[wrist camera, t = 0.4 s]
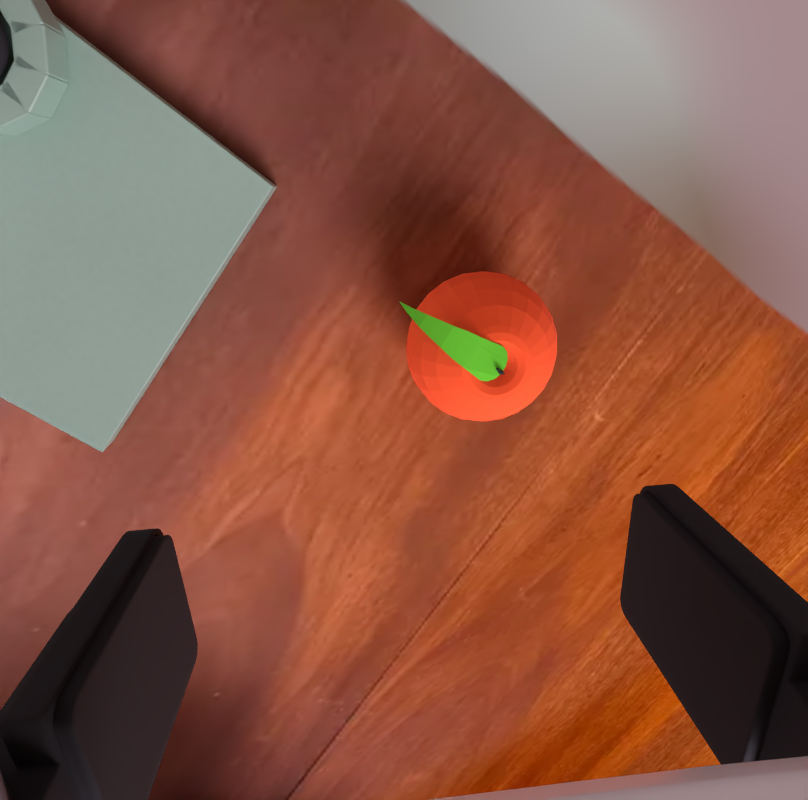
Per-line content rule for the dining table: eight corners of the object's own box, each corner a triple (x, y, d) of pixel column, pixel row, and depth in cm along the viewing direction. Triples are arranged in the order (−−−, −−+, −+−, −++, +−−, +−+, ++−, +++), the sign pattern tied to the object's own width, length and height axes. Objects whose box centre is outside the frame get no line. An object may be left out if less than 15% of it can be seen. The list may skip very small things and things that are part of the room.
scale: (-39, -75, 20) (-102, -119, 17) (284, 176, 24) (275, 173, 22) (-187, 275, 24) (-258, 285, 21) (113, 441, 28) (87, 467, 25)
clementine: (358, 343, 28) (359, 390, 21) (428, 223, 26) (453, 233, 19) (482, 412, 30) (519, 474, 23) (556, 305, 28) (618, 340, 21)
